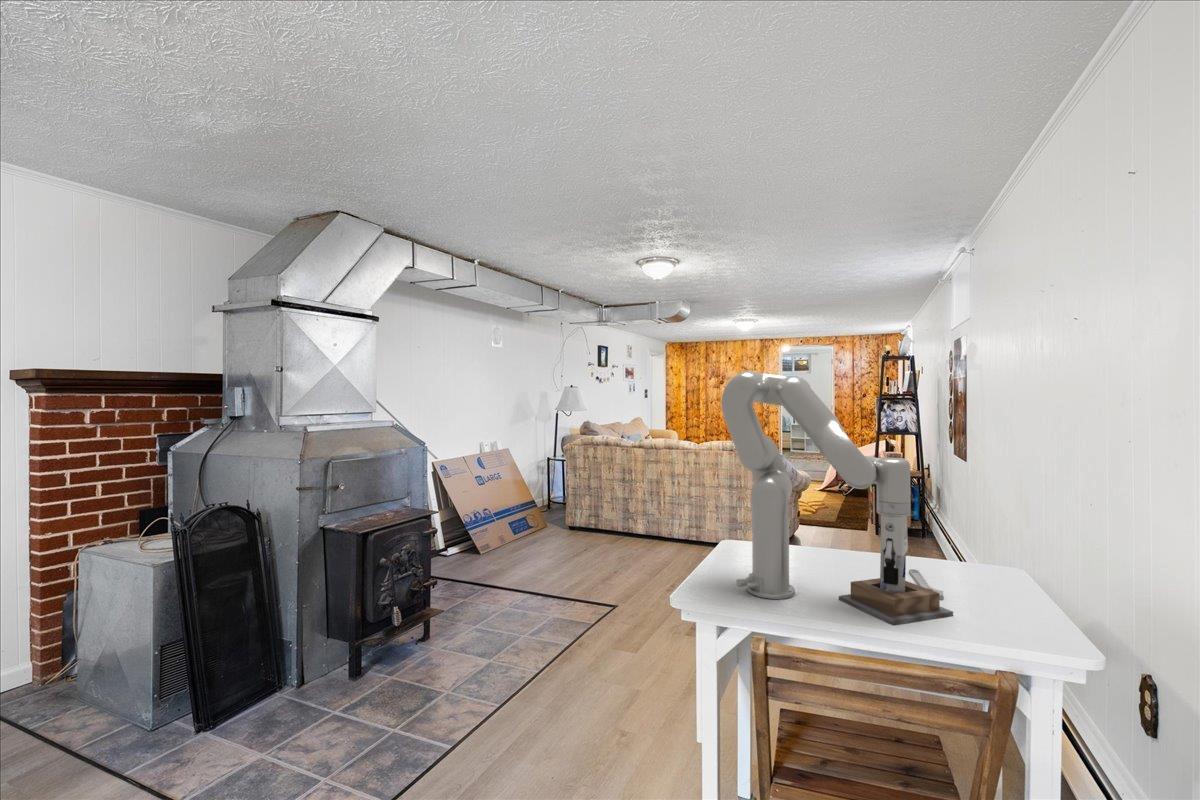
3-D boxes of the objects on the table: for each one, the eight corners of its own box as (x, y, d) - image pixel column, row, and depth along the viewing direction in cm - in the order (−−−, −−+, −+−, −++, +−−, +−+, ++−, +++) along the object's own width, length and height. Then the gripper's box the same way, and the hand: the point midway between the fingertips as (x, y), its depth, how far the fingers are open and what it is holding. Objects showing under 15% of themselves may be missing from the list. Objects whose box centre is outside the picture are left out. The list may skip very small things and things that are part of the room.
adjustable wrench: (907, 573, 176) (907, 568, 176) (932, 576, 174) (932, 570, 174) (917, 600, 153) (917, 593, 153) (946, 603, 151) (946, 596, 151)
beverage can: (909, 604, 145) (910, 543, 144) (887, 605, 144) (888, 544, 144) (896, 596, 150) (897, 538, 150) (875, 597, 150) (876, 538, 150)
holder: (893, 625, 136) (893, 603, 136) (838, 599, 153) (838, 580, 153) (953, 615, 141) (953, 594, 141) (894, 592, 159) (894, 573, 159)
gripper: (904, 515, 138) (904, 592, 138) (914, 504, 152) (914, 574, 152) (870, 511, 142) (869, 586, 142) (882, 501, 156) (882, 569, 156)
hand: (893, 579), depth 147 cm, fingers open, 5 cm apart
